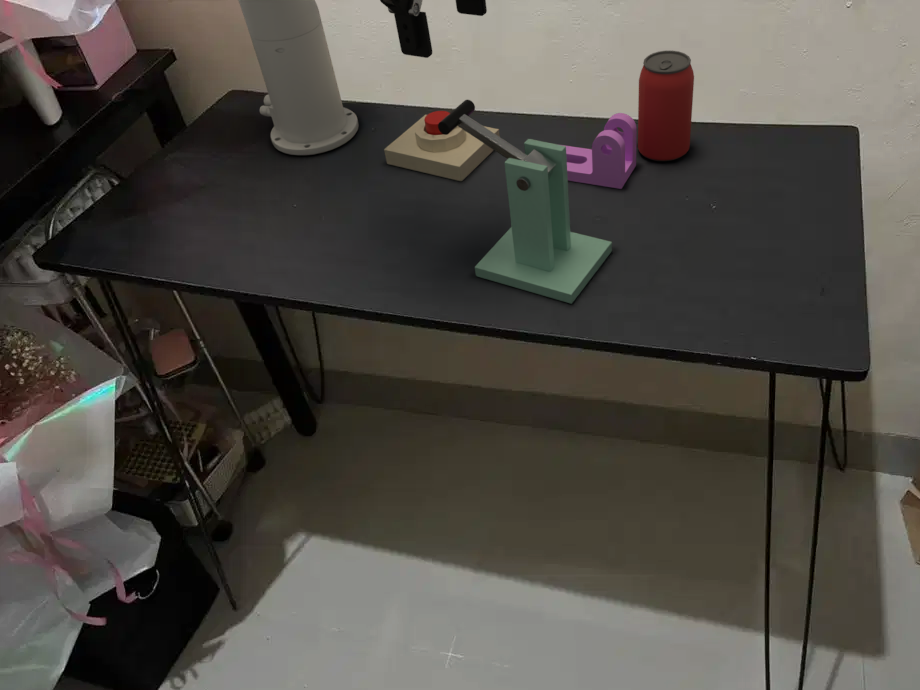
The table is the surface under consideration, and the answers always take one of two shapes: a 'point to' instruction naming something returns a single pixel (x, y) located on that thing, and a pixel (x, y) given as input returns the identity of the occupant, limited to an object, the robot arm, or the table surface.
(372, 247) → the table surface
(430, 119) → the button
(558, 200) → the bracket
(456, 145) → the control block
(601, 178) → the bracket
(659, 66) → the beer can
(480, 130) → the lever
